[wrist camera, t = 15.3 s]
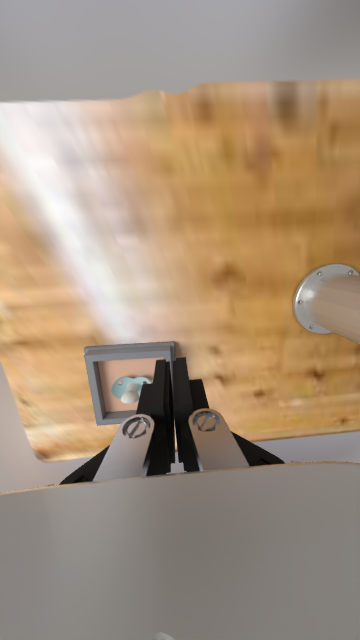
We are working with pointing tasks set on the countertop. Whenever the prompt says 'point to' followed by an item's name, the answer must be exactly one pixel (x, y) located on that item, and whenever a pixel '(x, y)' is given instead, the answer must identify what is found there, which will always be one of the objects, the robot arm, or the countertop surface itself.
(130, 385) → the pacifier
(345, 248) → the countertop surface
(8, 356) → the countertop surface
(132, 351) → the holder
